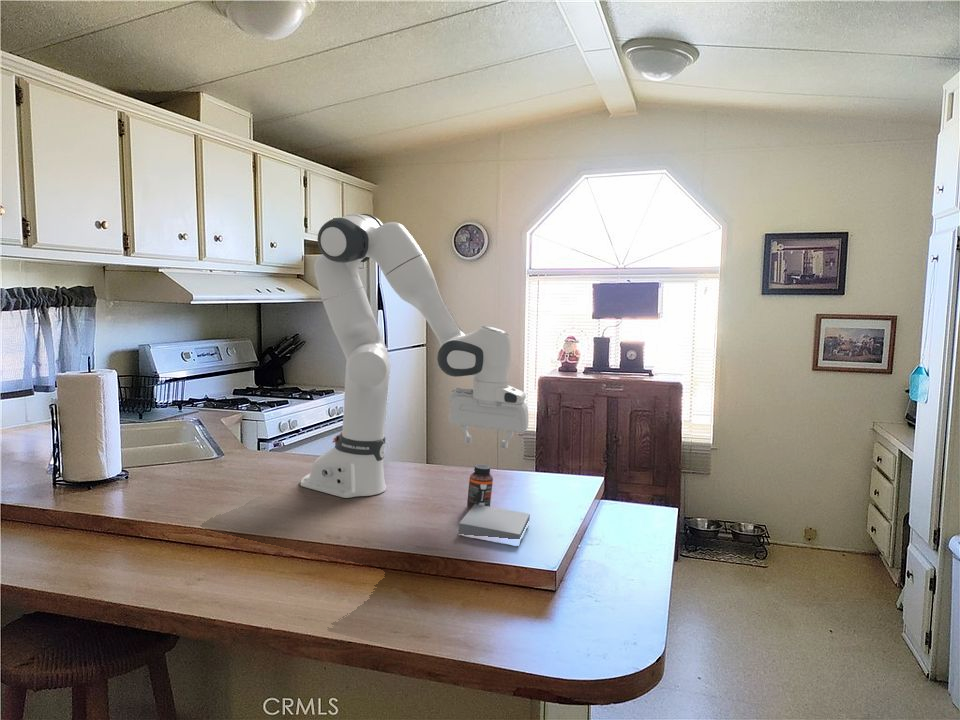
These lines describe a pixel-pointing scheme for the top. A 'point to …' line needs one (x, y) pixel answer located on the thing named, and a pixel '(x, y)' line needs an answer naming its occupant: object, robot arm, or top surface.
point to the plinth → (493, 522)
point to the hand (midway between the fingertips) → (486, 445)
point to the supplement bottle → (480, 487)
